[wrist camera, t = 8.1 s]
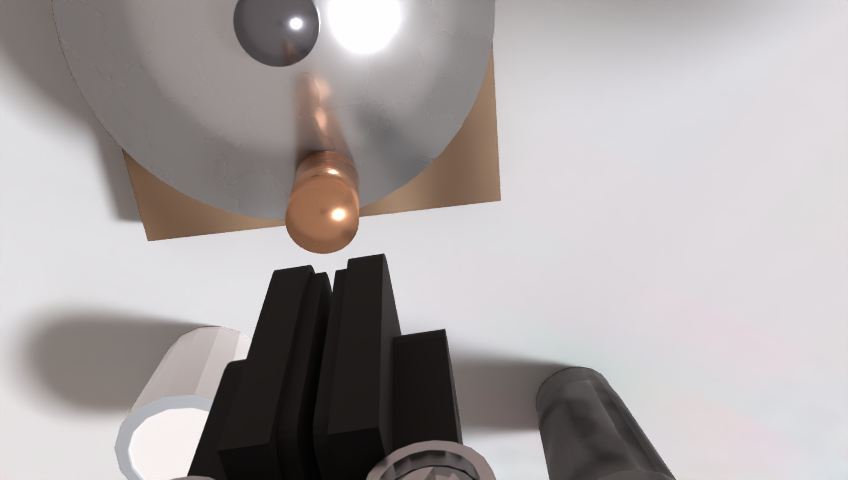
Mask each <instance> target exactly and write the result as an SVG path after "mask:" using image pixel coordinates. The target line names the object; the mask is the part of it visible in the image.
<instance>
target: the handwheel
mask: <svg viewBox="0 0 848 480" xmlns="http://www.w3.org/2000/svg"><path fill="white" fill-rule="evenodd" d="M52 8H53V15H54V19H55V24H56V28H57V33H58V37H59V41H60V45H61V47H62V50H63V53H64V56H65V58H66V61H67V64H68V67H69V70H70V72H71V74H72V76H73V78H74V80H75V82H76V84H77V86H78V88H79V90H80V92H81V94H82V96H83V98H84V99H85V101H86V102H87V104H88V105H89V107H90V108H91V110H92V111H93V113H94V114H95V116H96V117H97V119H98V120H99V122H100V123H101V124H102V126H103V127H104V128H105V129H106V130H107V131H108V133H109V134H110V135H111V136H112V137H113V139H114V140H115V141H116V142H117V143H118V144H119V145H120V146H121V147H122V148H123V149H124V150H125V151H126V152H127V153H128V154H129V155H130V156H131V157H132V158H133V159H134V160H135V161H136V162H138V163H139V164H140V165H141V166H142V167H144V168H145V169H146V170H148V171H149V172H150V173H152V174H153V175H154V176H156V177H157V178H158V179H160V180H161V181H163V182H164V183H166V184H168V185H170V186H171V187H173V188H175V189H176V190H178V191H180V192H181V193H183V194H185V195H187V196H189V197H191V198H194V199H196V200H198V201H200V202H203V203H205V204H207V205H210V206H213V207H216V208H219V209H222V210H225V211H229V212H232V213H235V214H240V215H245V216H251V217H256V218H262V219H276V220H285V224H286V228H287V231H288V233H289V235H290V237H291V238H292V239H293V241H294V242H295V243H296V244H297V245H299V246H300V247H302V248H303V249H305V250H307V251H310V252H313V253H320V254H326V253H332V252H336V251H338V250H341V249H342V248H344V247H345V246H347V245H348V244H349V243H350V242H351V241H352V239H353V238H354V236H355V235H356V232H357V230H358V225H359V208H361V207H364V206H366V205H368V204H370V203H373V202H375V201H377V200H379V199H382V198H384V197H386V196H387V195H389V194H391V193H392V192H394V191H396V190H397V189H399V188H401V187H402V186H404V185H406V184H407V183H408V182H409V181H411V180H412V179H413V178H415V177H416V176H417V175H418V174H420V173H421V172H422V171H423V170H425V169H426V168H427V167H428V166H429V165H430V164H431V163H432V162H433V161H434V160H435V159H436V158H437V157H438V156H439V155H440V154H441V153H442V152H443V151H444V149H445V148H446V147H447V145H448V144H449V143H450V141H451V140H452V139H453V137H454V136H455V135H456V134H457V132H458V131H459V129H460V128H461V126H462V124H463V123H464V121H465V119H466V117H467V116H468V114H469V112H470V110H471V109H472V107H473V104H474V102H475V100H476V97H477V95H478V93H479V90H480V88H481V85H482V83H483V80H484V76H485V72H486V69H487V65H488V62H489V58H490V53H491V46H492V39H493V32H494V11H495V0H52Z"/></svg>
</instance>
